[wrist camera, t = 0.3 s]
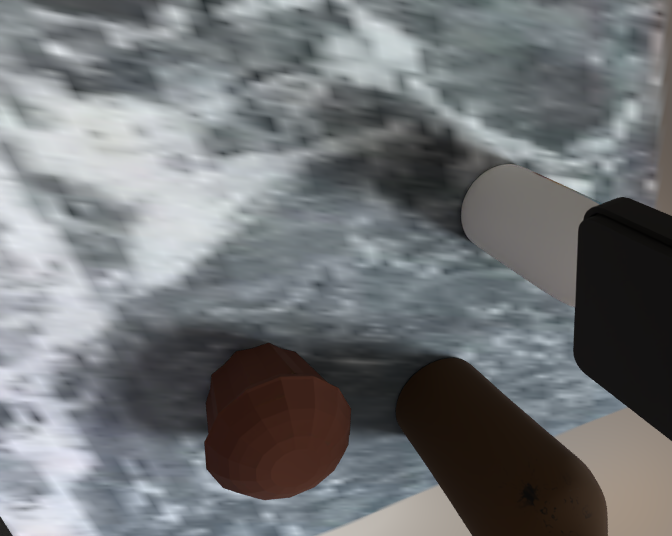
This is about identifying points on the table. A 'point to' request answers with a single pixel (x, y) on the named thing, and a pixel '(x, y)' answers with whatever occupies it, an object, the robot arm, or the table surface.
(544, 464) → the olive oil
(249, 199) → the table surface
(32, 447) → the table surface
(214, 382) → the muffin
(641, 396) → the robot arm
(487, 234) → the milk bottle
